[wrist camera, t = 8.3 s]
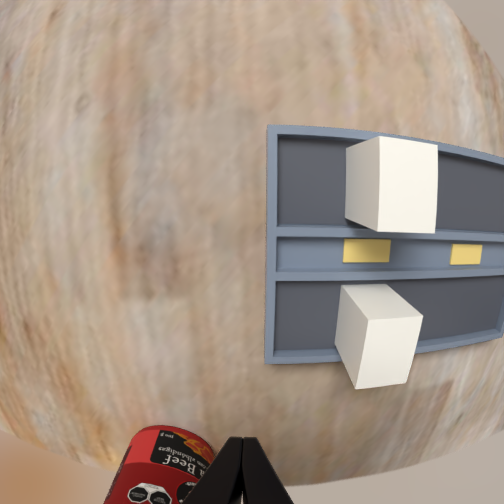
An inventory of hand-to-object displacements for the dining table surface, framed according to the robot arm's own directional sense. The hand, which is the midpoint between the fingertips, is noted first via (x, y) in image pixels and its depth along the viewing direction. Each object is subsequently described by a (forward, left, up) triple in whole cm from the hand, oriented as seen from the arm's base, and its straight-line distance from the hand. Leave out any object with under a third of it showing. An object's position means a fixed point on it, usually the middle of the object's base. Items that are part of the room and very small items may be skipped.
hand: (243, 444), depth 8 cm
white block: (-7, 0, -10) cm, 12 cm away
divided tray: (-11, -4, -12) cm, 16 cm away
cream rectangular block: (-7, -8, -10) cm, 15 cm away
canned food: (+7, +15, -12) cm, 20 cm away
